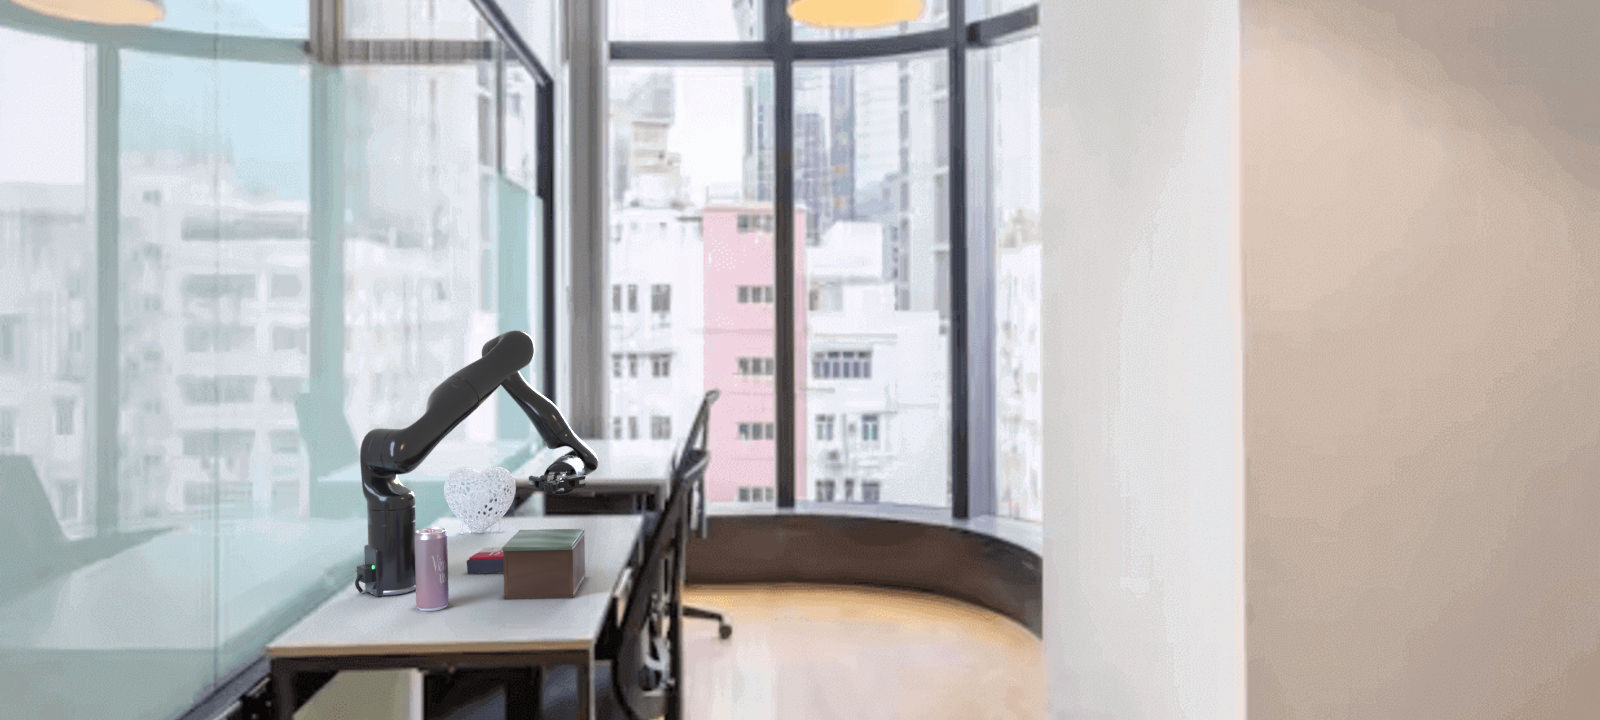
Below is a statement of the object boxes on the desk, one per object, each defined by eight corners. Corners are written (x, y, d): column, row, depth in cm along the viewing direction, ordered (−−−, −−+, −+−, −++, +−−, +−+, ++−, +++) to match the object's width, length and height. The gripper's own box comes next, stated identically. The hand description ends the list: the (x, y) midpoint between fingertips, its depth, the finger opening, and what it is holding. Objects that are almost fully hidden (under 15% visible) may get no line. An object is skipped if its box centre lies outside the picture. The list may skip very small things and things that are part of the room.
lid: (571, 549, 211) (571, 545, 211) (502, 551, 211) (502, 547, 211) (584, 532, 228) (584, 528, 228) (519, 533, 227) (519, 529, 227)
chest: (573, 597, 213) (572, 549, 212) (504, 599, 212) (503, 550, 212) (585, 578, 228) (584, 532, 228) (520, 579, 228) (519, 533, 227)
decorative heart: (439, 538, 270) (438, 470, 269) (450, 529, 281) (449, 464, 280) (512, 536, 271) (510, 469, 270) (520, 527, 282) (519, 463, 281)
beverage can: (437, 601, 211) (436, 526, 210) (455, 606, 207) (453, 529, 206) (410, 608, 206) (408, 531, 205) (427, 613, 202) (425, 535, 202)
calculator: (483, 546, 243) (548, 543, 242) (484, 565, 243) (549, 562, 242) (465, 557, 232) (533, 554, 231) (466, 577, 232) (534, 574, 231)
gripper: (534, 459, 242) (517, 471, 225) (593, 458, 243) (581, 470, 225) (534, 492, 242) (518, 506, 225) (593, 491, 243) (581, 505, 226)
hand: (549, 488), depth 225 cm, fingers closed
